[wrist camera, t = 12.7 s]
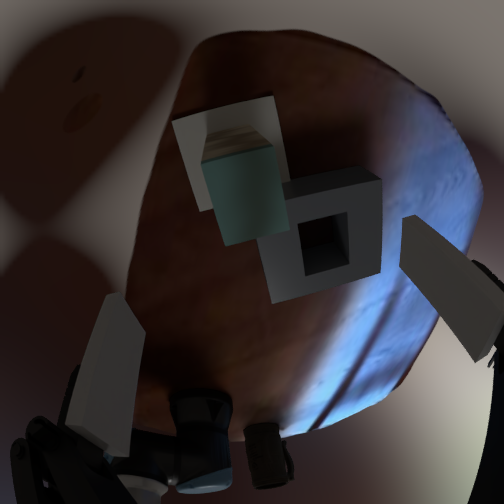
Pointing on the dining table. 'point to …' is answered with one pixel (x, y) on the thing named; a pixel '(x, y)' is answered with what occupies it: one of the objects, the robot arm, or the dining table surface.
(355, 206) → the block
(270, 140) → the coaster
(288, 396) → the dining table surface
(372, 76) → the dining table surface
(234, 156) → the teal and tan block
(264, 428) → the beer stein
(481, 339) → the robot arm
